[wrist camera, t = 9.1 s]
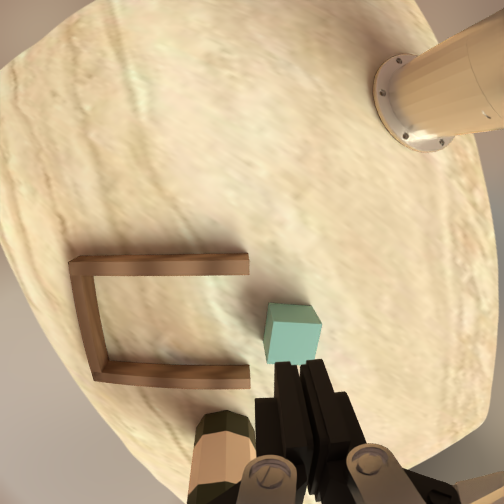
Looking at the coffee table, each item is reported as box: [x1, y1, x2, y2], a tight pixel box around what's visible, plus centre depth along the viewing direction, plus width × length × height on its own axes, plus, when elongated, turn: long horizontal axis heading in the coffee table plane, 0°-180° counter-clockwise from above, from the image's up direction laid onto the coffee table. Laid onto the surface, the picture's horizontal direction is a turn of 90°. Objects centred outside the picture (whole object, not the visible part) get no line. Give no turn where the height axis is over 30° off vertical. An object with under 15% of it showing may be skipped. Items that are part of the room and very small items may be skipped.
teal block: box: [263, 303, 322, 365], centre depth 33 cm, size 5×5×5 cm
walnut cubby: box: [68, 253, 250, 389], centre depth 33 cm, size 20×16×3 cm
